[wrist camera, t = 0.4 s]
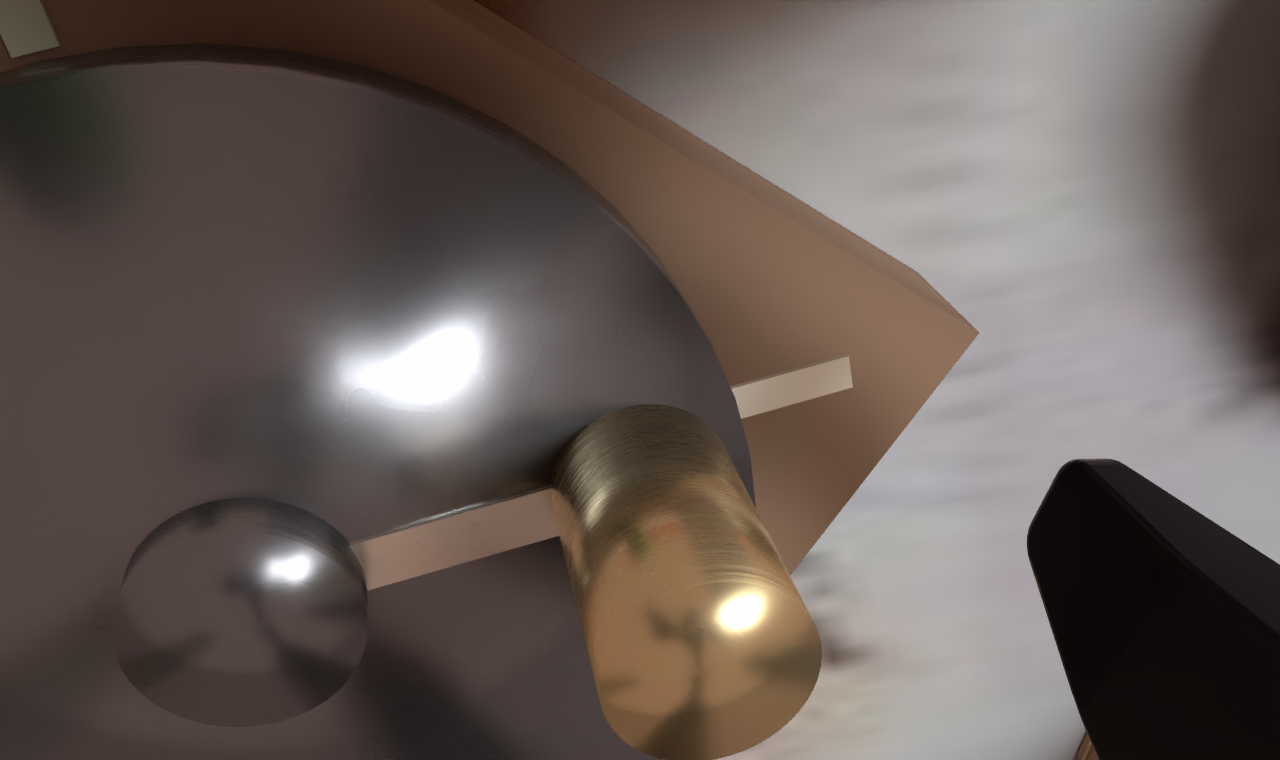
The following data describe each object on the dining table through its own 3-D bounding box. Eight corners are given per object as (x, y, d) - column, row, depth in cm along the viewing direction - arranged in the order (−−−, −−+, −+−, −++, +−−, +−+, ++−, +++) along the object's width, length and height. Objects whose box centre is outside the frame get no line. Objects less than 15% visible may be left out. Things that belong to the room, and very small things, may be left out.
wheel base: (453, 893, 32) (462, 999, 29) (-445, 648, 24) (-547, 764, 21) (918, 272, 26) (981, 335, 23) (-67, -332, 18) (-142, -342, 15)
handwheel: (-15, 993, 26) (-119, 1343, 20) (-611, 221, 17) (-1090, 464, 11) (792, 747, 27) (904, 1011, 22) (632, -86, 18) (751, -4, 13)
